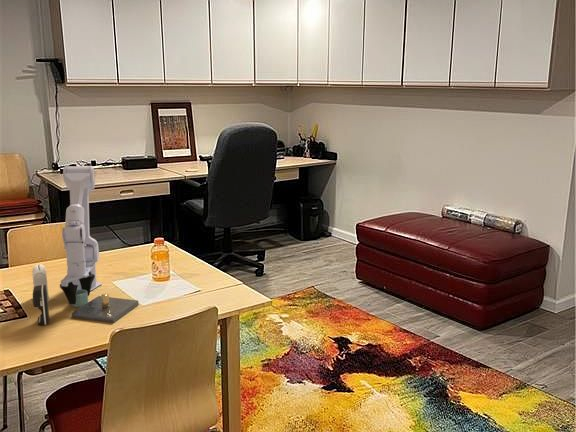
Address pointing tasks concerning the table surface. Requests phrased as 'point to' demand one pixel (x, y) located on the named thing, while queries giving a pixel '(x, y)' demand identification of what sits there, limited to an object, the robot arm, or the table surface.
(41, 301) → the battery charger
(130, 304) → the hub plate
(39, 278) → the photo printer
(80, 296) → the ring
